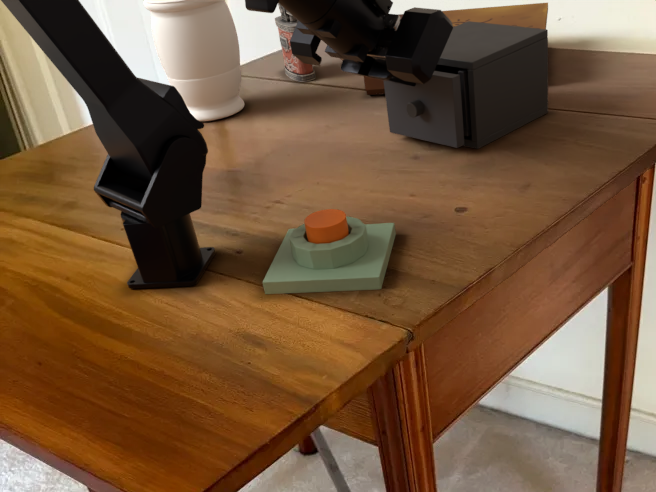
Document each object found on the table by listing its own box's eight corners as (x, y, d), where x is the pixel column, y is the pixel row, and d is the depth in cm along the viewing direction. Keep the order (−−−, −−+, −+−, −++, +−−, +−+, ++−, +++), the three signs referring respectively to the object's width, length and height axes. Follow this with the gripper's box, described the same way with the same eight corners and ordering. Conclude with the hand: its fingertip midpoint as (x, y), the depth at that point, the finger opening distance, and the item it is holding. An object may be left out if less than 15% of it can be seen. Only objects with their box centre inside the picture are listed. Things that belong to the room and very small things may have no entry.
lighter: (280, 71, 123) (266, -1, 117) (301, 66, 124) (288, -6, 118) (298, 83, 117) (284, 7, 111) (320, 77, 118) (307, 2, 112)
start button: (345, 245, 69) (341, 226, 68) (303, 247, 70) (300, 228, 69) (352, 226, 72) (349, 207, 71) (312, 228, 73) (308, 210, 72)
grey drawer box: (477, 149, 89) (472, 62, 84) (402, 132, 97) (393, 50, 91) (548, 112, 96) (547, 29, 90) (472, 98, 103) (468, 20, 97)
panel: (381, 289, 68) (376, 257, 66) (265, 294, 69) (257, 262, 68) (396, 234, 75) (392, 203, 74) (291, 240, 77) (284, 210, 75)
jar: (264, 98, 114) (239, -22, 105) (233, 124, 106) (203, -2, 97) (196, 100, 117) (166, -16, 108) (161, 126, 109) (126, 4, 100)
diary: (366, 98, 108) (360, 52, 105) (391, 57, 122) (386, 15, 119) (544, 86, 103) (543, 37, 100) (548, 44, 118) (548, 0, 114)
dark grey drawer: (449, 152, 87) (444, 81, 83) (382, 135, 94) (373, 69, 89) (524, 114, 94) (522, 46, 89) (456, 101, 100) (451, 37, 96)
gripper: (428, -91, 68) (516, 16, 81) (289, -91, 80) (384, 3, 92) (374, 35, 69) (468, 122, 82) (244, 18, 81) (344, 97, 93)
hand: (414, 81), depth 87 cm, fingers closed, pressing on dark grey drawer
